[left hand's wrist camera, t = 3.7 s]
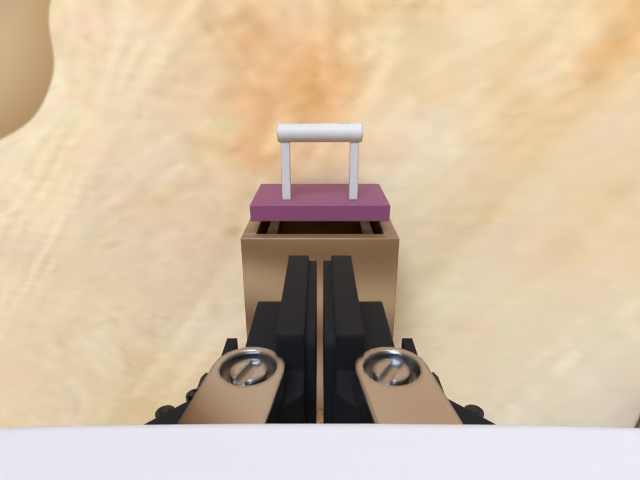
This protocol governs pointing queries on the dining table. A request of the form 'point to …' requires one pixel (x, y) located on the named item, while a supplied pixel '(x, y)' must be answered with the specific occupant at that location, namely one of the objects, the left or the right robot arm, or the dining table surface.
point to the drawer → (319, 190)
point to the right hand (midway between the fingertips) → (319, 352)
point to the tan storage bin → (319, 269)
